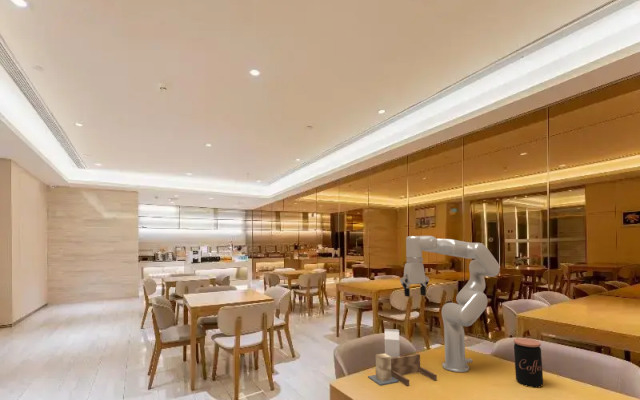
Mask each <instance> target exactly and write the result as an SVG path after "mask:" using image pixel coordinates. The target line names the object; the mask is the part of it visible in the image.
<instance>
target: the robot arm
mask: <svg viewBox="0 0 640 400" xmlns="http://www.w3.org/2000/svg"><path fill="white" fill-rule="evenodd" d="M405 248H406V249H405V250H406V253H405V254H406V255H405V257H406V263H404V269H403V276H402V277H400V278H399V282H400V284H401V285H402V287H403V288H404V290H403V291H404V297H407V298H408V297H409V298H410V296H411V293H410V291H411V289H410V286H411V285H420V288H419V289H420V296H426V295H427V294H426V290H427V289H426V288H427V286H428V285H429V283H430V282H429V281H430V277H428V276H427V275H426V274H425V273H426V272H425V268H424V263H423V261H424V258H423V252H427V253H434V254H440V255H444V256H451V257H457V258H462V259H468V260H469V259H471V261H470V263H469V264H468V265H469V266H468V268H469V269H468V270H469V280H468V281H467V283H466V284H465V285H464V286H463V287H462V289H460V291H459V292H457V294H456V298H455V299H456V302H457V303H456V302H446V303H444V304H443V305H442V308H441V318H442V322H443V333H444V334H443V335H444V338H443V339H444V360H445V361H444V362H442V364H441V367H442V368H443V369H444V370H447V371H450V372H455V373H466V372H468V371H469V370H470V366H469V365H468V363H469V364H471V363H473V359H472V358H470V357H469V358H467V357H466V347H465V345H466V343H465V328H464V327H470V326H472V325H473V324H474V323H475V322H476V321H477V320H478V319H479V317H480V316H481V315H482V314H483V312H485V310H486V308H487V306H488V297H487V295H486V294H485V293H484V291H485V289H486V280H485V277H492V278H494V277H496V276H498V275H499V274H500V272H501V269H500V264H499V263H498V261H497V260H496V258H495V256H494V255H493V254H492V253H491V251H490V250H489V249H488V247H487V246H486V245H485V244H484V243H481V242H468V241H462V240H457V239H454V238H453V239H452V238H436V237H435V236H433V235H409V236H406V238H405Z"/></svg>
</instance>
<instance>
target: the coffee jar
mask: <svg viewBox="0 0 640 400" xmlns="http://www.w3.org/2000/svg"><path fill="white" fill-rule="evenodd" d="M513 343H514V344H513V352H514V353H513V354H514V370H515V380H516V381H517V383H519V384H520V385H522V384H523V385H522V386H524V385H527V386H526V387H528V386H533V387H532V388H540V387H539V386H541V385H542V386H543V384H544V377H543V376H544V375H543V361H542V360H543V359H542V349H541V342H539V341H537V340H536V339H535V340H534V339H532V338H523V337H522V338H519V337H517V338H514V339H513ZM542 386H541V387H542Z"/></svg>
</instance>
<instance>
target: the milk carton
mask: <svg viewBox="0 0 640 400" xmlns="http://www.w3.org/2000/svg"><path fill="white" fill-rule="evenodd" d="M400 345H401V344H400V329H390V328H384V353H385V354H387V355H389V356H391V358H395V357H401V355H400V354H401V352H400V351H401V349H400Z"/></svg>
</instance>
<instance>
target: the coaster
mask: <svg viewBox="0 0 640 400" xmlns="http://www.w3.org/2000/svg"><path fill="white" fill-rule="evenodd" d="M367 378H368V379H370V380H371V381H373V383H376V385H378V386H386V385H392V384H396V383H399V382H400V381H398V380H397V379H395V378H393V377H392V376H391V380H386V381H381V380H379V379H378V378H376V374H374V375H368V376H367Z"/></svg>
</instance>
